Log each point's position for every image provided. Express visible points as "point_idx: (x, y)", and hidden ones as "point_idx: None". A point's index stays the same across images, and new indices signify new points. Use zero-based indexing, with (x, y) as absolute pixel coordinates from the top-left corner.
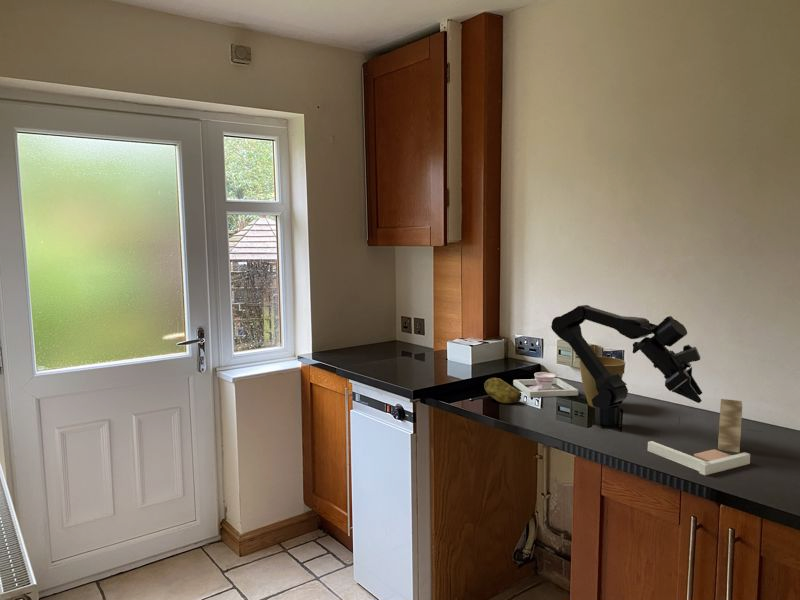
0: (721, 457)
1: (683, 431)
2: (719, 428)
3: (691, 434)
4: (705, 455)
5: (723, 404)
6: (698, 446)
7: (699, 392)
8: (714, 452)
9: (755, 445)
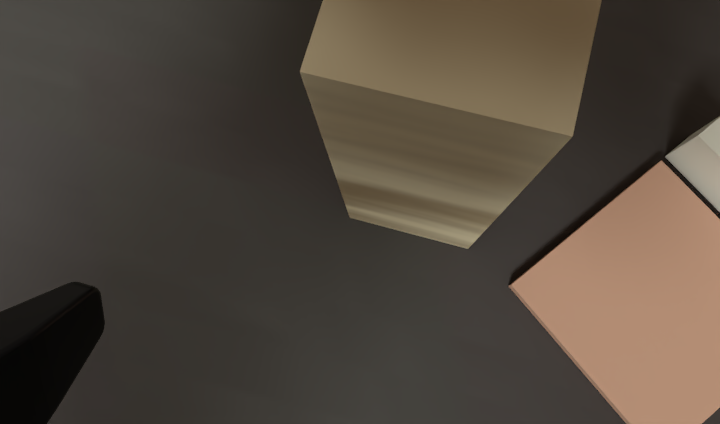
0: (671, 281)
1: (110, 387)
2: (480, 216)
3: (172, 345)
4: (665, 381)
5: (574, 111)
6: (433, 365)
7: (76, 331)
8: (581, 300)
9: None
